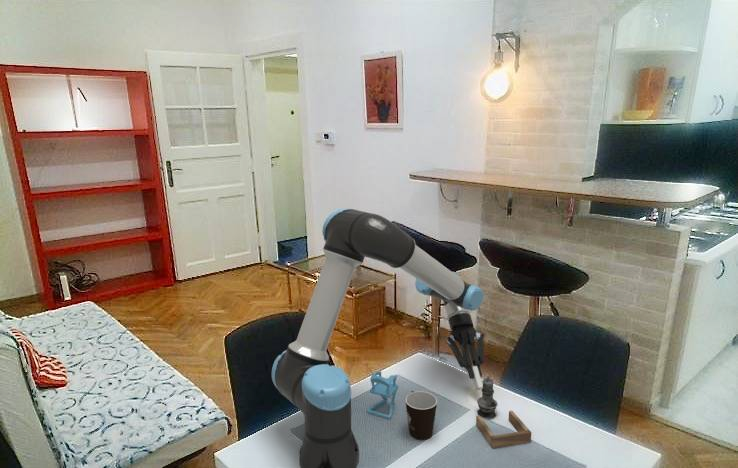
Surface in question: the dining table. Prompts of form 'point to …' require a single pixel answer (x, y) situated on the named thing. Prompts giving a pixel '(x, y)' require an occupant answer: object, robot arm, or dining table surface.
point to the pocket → (505, 439)
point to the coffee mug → (421, 414)
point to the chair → (383, 392)
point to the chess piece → (487, 400)
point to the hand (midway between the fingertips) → (479, 388)
